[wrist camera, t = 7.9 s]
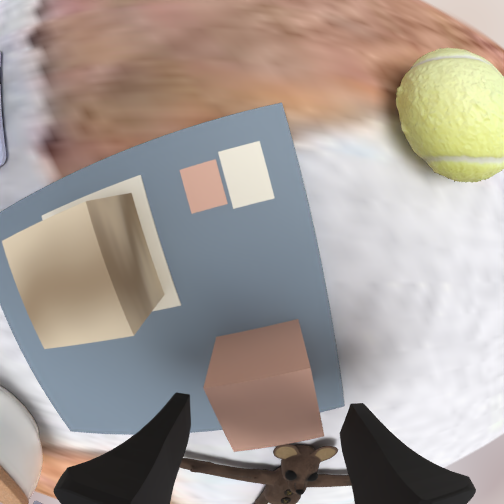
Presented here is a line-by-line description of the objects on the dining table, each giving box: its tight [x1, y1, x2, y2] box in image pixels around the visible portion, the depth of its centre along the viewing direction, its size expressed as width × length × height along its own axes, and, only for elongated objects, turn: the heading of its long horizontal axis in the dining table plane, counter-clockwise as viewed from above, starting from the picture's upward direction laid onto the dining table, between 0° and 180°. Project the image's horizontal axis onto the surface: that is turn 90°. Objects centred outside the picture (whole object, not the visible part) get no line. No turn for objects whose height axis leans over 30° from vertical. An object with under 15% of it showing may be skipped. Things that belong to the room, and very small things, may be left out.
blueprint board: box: [0, 103, 344, 434], centre depth 16 cm, size 18×22×1 cm
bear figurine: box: [180, 444, 352, 504], centre depth 20 cm, size 18×4×14 cm
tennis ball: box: [396, 48, 504, 183], centre depth 11 cm, size 6×7×7 cm
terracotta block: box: [203, 319, 324, 452], centre depth 14 cm, size 4×4×4 cm
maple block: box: [2, 193, 164, 349], centre depth 13 cm, size 6×6×4 cm
